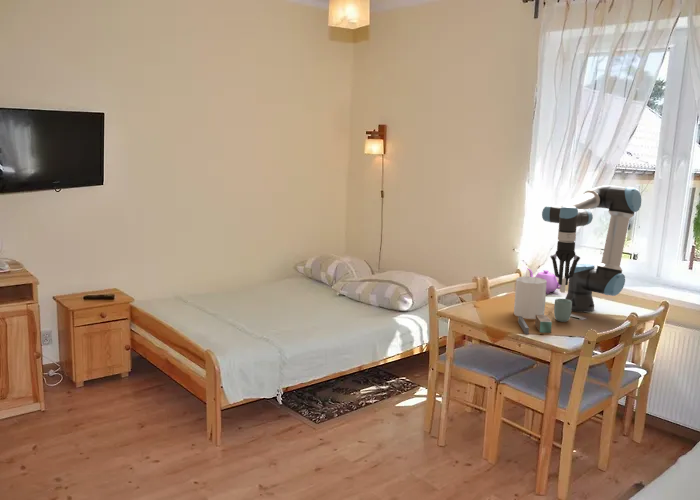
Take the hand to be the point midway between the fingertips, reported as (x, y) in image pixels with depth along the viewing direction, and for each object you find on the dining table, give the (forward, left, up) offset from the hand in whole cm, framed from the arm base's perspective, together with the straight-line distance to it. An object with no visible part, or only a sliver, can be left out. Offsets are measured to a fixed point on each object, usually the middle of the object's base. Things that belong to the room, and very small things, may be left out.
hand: (562, 291), depth 280 cm
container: (+9, -22, -18) cm, 30 cm away
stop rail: (+16, 0, -18) cm, 24 cm away
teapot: (-8, -70, -18) cm, 73 cm away
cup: (-5, -14, -18) cm, 23 cm away
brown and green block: (+7, +5, -16) cm, 18 cm away
